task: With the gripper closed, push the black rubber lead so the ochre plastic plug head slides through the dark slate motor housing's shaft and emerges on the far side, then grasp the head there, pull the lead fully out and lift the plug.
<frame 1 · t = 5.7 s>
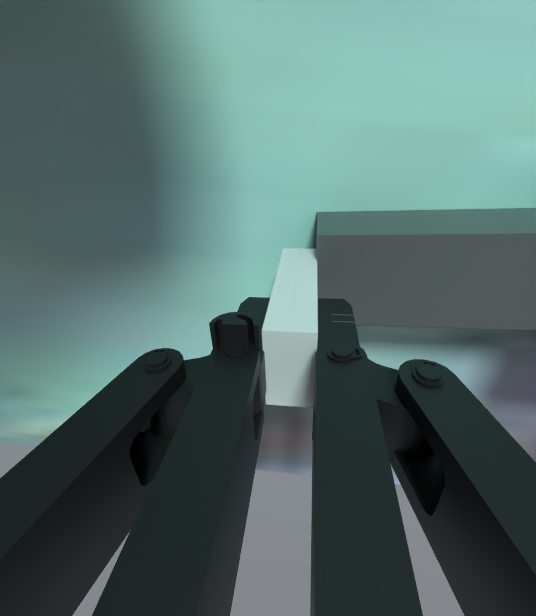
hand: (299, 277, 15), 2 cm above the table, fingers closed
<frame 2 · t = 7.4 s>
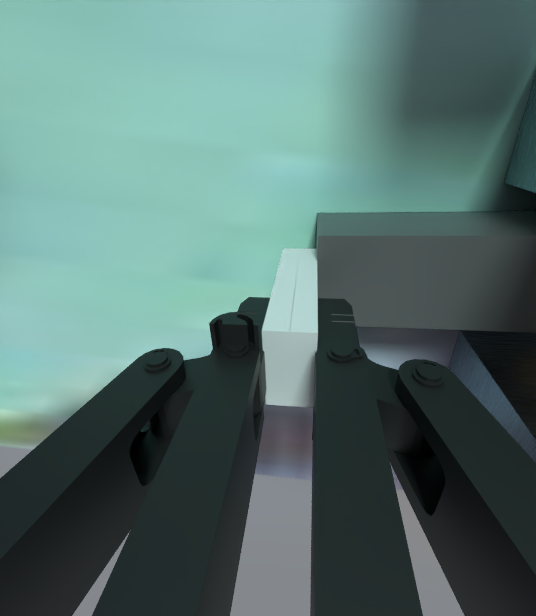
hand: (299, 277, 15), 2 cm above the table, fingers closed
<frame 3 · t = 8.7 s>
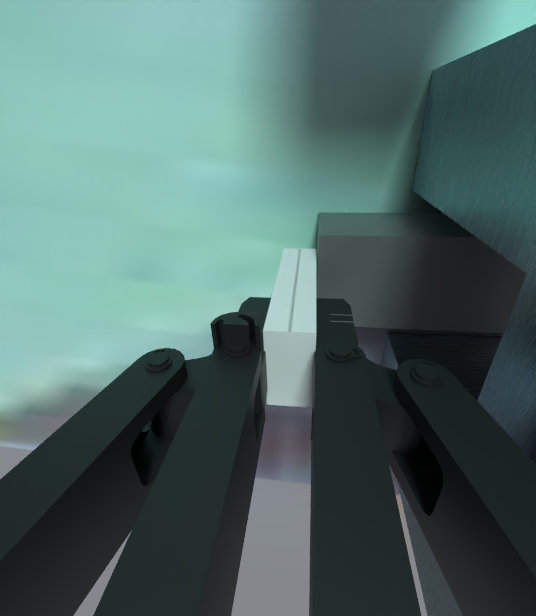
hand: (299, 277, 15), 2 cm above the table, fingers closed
housing: (463, 271, 16), on the table
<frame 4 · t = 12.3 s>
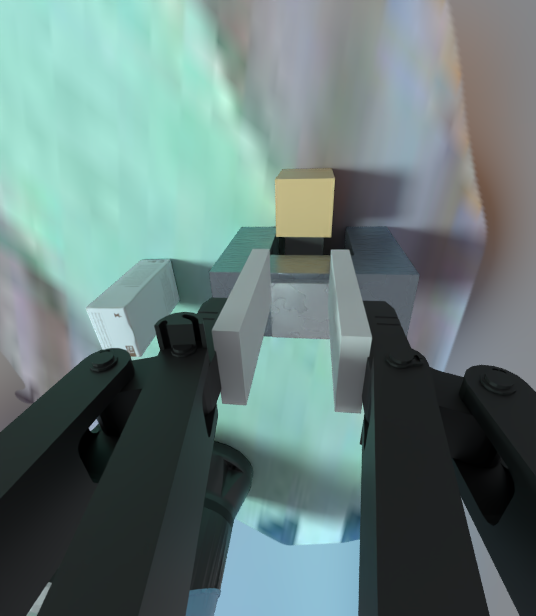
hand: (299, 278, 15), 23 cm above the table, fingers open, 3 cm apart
housing: (310, 252, 37), on the table
skincare box: (163, 280, 42), on the table
plug: (306, 194, 34), on the table
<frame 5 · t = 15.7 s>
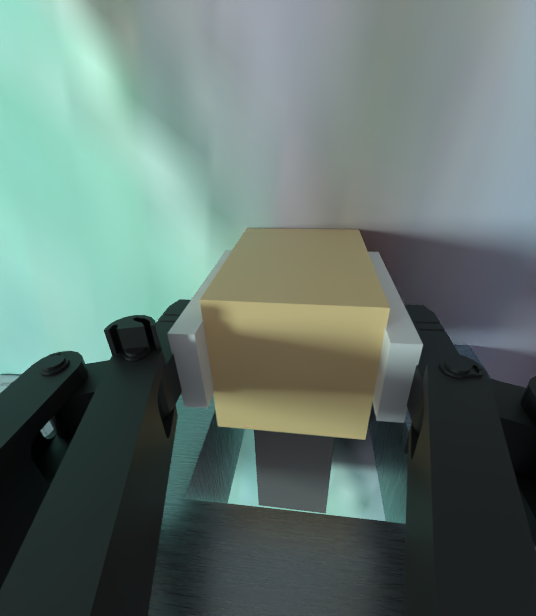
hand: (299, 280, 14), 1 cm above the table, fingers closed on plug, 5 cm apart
housing: (308, 381, 19), on the table
skincare box: (43, 404, 24), on the table
plug: (300, 279, 16), on the table, touching gripper
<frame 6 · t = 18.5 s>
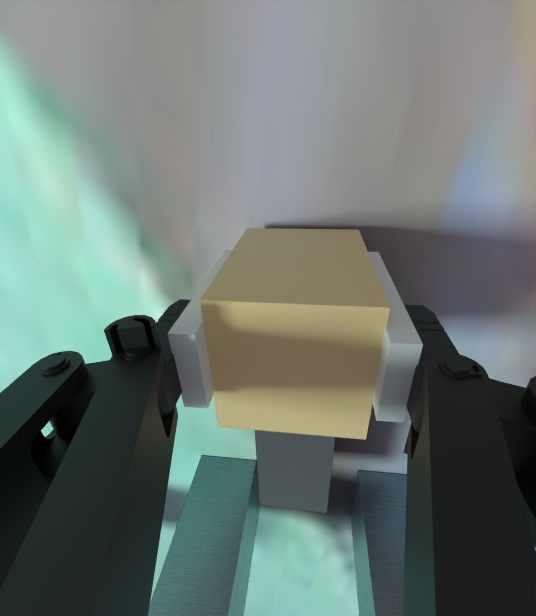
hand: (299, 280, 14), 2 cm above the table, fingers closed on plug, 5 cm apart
housing: (305, 489, 25), on the table
plug: (300, 279, 16), point 1 cm above the table, touching gripper
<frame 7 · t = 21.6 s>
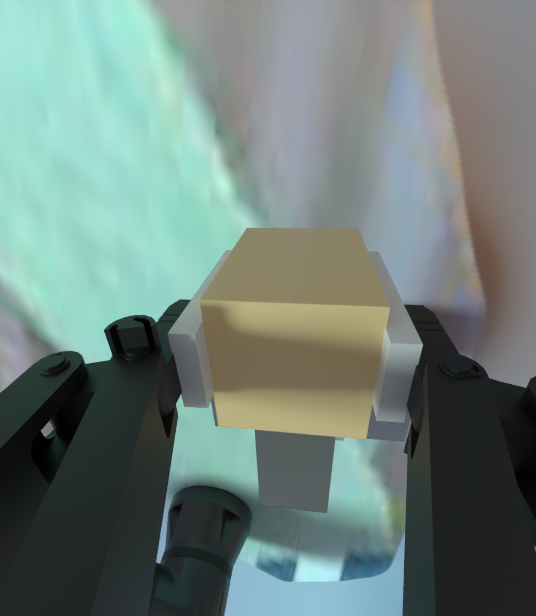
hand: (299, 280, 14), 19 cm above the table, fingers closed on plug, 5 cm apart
housing: (309, 322, 37), on the table
plug: (300, 279, 16), point 17 cm above the table, touching gripper
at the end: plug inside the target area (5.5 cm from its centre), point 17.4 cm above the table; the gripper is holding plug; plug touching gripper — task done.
